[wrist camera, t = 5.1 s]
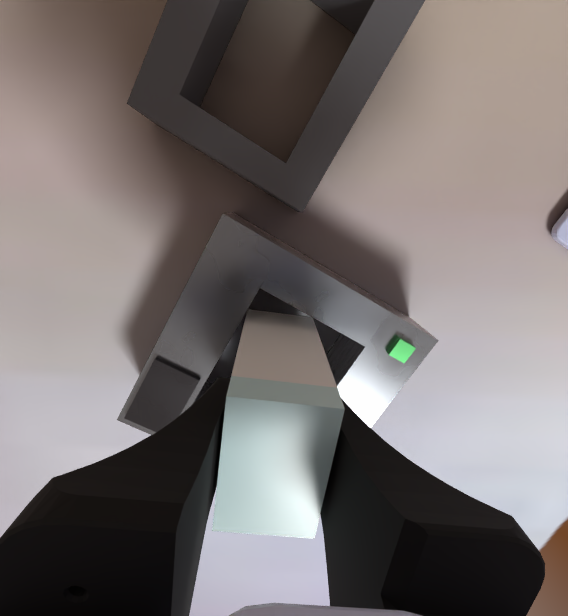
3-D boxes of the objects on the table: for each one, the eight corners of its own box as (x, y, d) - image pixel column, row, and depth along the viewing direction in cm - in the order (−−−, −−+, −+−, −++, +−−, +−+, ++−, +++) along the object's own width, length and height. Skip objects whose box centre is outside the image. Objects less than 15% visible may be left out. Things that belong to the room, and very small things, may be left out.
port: (409, 316, 16) (442, 343, 13) (305, 458, 19) (312, 509, 16) (232, 212, 14) (221, 213, 11) (143, 383, 17) (113, 424, 14)
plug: (312, 317, 15) (344, 409, 8) (297, 401, 16) (314, 538, 10) (247, 309, 15) (226, 396, 8) (237, 394, 16) (212, 531, 9)
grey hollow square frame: (403, 27, 13) (433, -14, 10) (297, 211, 15) (302, 212, 12) (245, -97, 11) (237, -177, 9) (152, 121, 13) (126, 103, 11)
